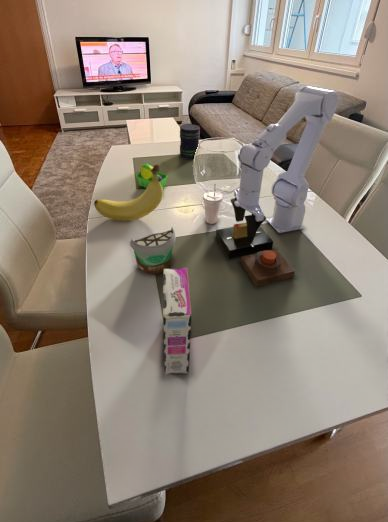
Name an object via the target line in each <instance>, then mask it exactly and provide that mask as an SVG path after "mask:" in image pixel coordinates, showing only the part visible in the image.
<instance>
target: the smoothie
mask: <svg viewBox="0 0 388 522" xmlns="http://www.w3.org/2000/svg"><path fill="white" fill-rule="evenodd" d="M202 200H203V204H204V205H203V206H204V215H205V222H206V224H210V225H213V224H216V223H217V222H218V217H219V213H220V209H221V203H222V201H223V194H221V192H218V191H217V184H216V183H214V184H213V190H212V191H210V190H209V191H205V193H203V194H202Z"/></svg>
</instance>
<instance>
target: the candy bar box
mask: <svg viewBox="0 0 388 522" xmlns="http://www.w3.org/2000/svg"><path fill="white" fill-rule="evenodd" d="M162 274H163V275H162V278H163V279H162V320H163V321H162V323H163V324H162V325H163V363H164V364H163V367H164V370H163V372H164V373H163V374H164V375H181V374H182V375H183V374H189V373H190V357H191V356H190V354H191V334H192V303H191V293H190V282H189V271H188V267H176V268H168V269H164V272H162Z"/></svg>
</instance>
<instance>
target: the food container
mask: <svg viewBox="0 0 388 522" xmlns="http://www.w3.org/2000/svg"><path fill="white" fill-rule="evenodd" d="M176 240H177V238H176V233H175V230H174V227H171V229H169V230H166V231H162V232H158V233H152V234H150V235H147V236H144V237H142V238H139V239H135V240H134V239H133V238H131V240H130V241H129V246H130V247H131V249H132V250H133V253H134V257H135V262H136V265H137V268H138V270H140V271H141V272H142V273H144V274H147V275H158V274H163V273H164V269H170V266H171V264H172V256H173V255H172V254H173V246H174V245H175V243H176Z"/></svg>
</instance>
